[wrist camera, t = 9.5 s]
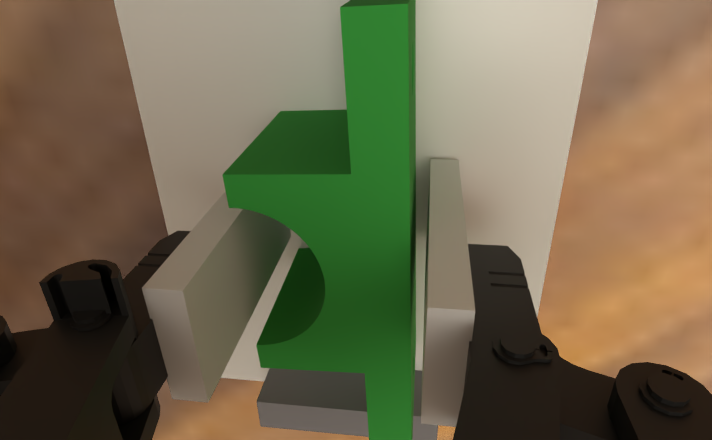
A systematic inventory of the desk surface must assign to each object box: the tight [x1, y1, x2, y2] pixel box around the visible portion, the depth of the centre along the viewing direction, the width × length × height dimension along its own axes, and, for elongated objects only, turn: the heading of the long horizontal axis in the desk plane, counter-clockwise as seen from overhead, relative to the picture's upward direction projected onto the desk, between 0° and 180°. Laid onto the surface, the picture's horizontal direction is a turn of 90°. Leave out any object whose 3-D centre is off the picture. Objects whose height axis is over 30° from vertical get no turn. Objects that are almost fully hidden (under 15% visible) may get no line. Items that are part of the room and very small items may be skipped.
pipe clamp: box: [222, 0, 416, 440], centre depth 13 cm, size 11×4×5 cm, turn 3°
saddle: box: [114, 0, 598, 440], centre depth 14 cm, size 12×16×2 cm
